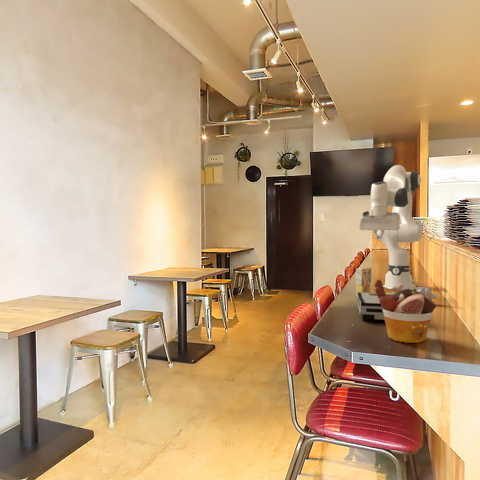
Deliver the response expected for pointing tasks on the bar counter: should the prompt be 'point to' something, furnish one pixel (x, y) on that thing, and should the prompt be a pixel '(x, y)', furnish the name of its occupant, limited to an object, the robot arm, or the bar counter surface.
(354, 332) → the bar counter surface
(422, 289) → the grey small irregular piece
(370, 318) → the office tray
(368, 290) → the candy box
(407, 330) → the bucket of meat
